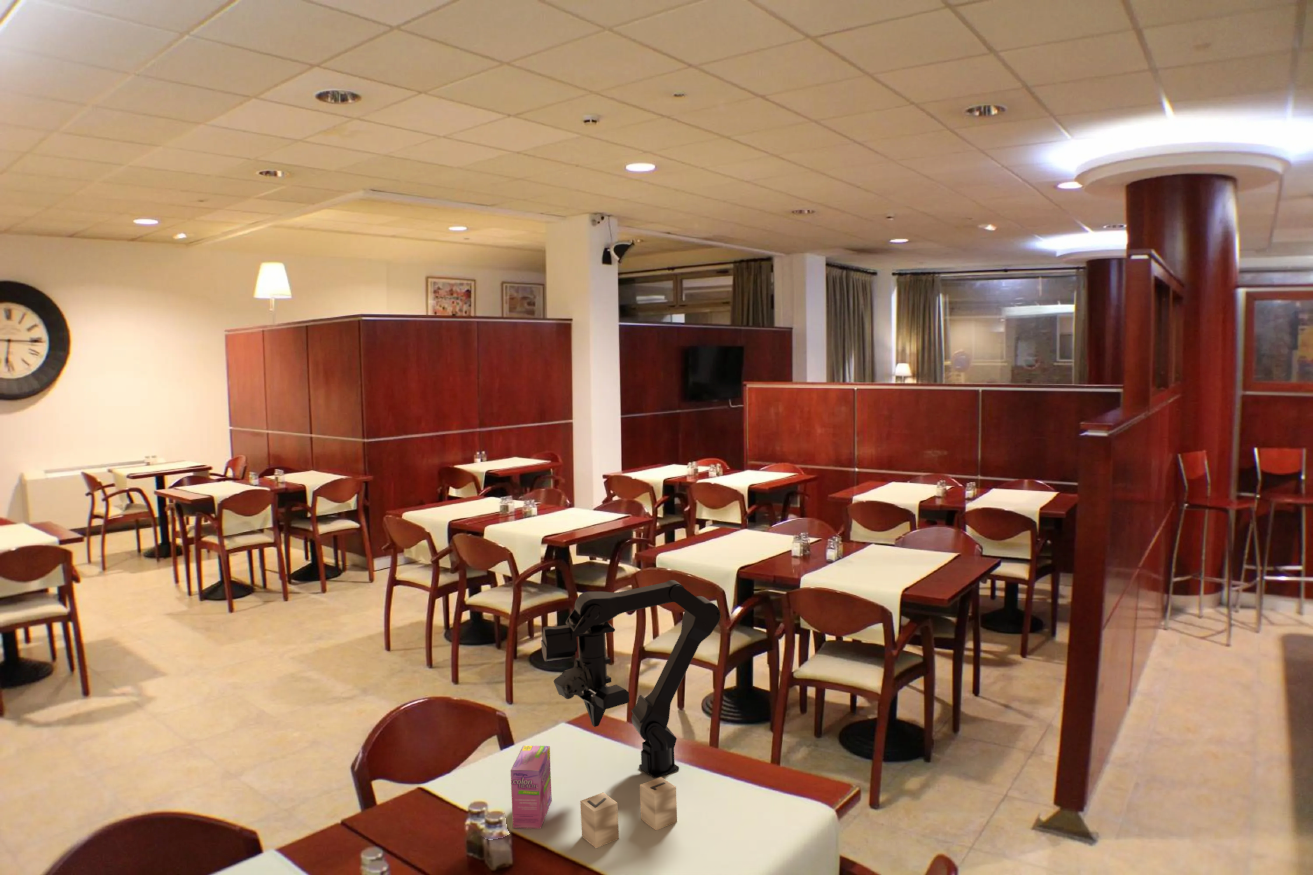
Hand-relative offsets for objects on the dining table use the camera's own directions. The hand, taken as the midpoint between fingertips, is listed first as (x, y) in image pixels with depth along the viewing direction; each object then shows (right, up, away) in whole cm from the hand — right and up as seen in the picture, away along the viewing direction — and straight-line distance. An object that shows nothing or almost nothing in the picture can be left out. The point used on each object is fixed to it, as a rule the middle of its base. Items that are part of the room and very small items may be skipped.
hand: (595, 725), depth 181 cm
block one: (+13, -13, -15) cm, 24 cm away
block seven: (+2, -14, -21) cm, 25 cm away
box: (-11, -14, -12) cm, 21 cm away
